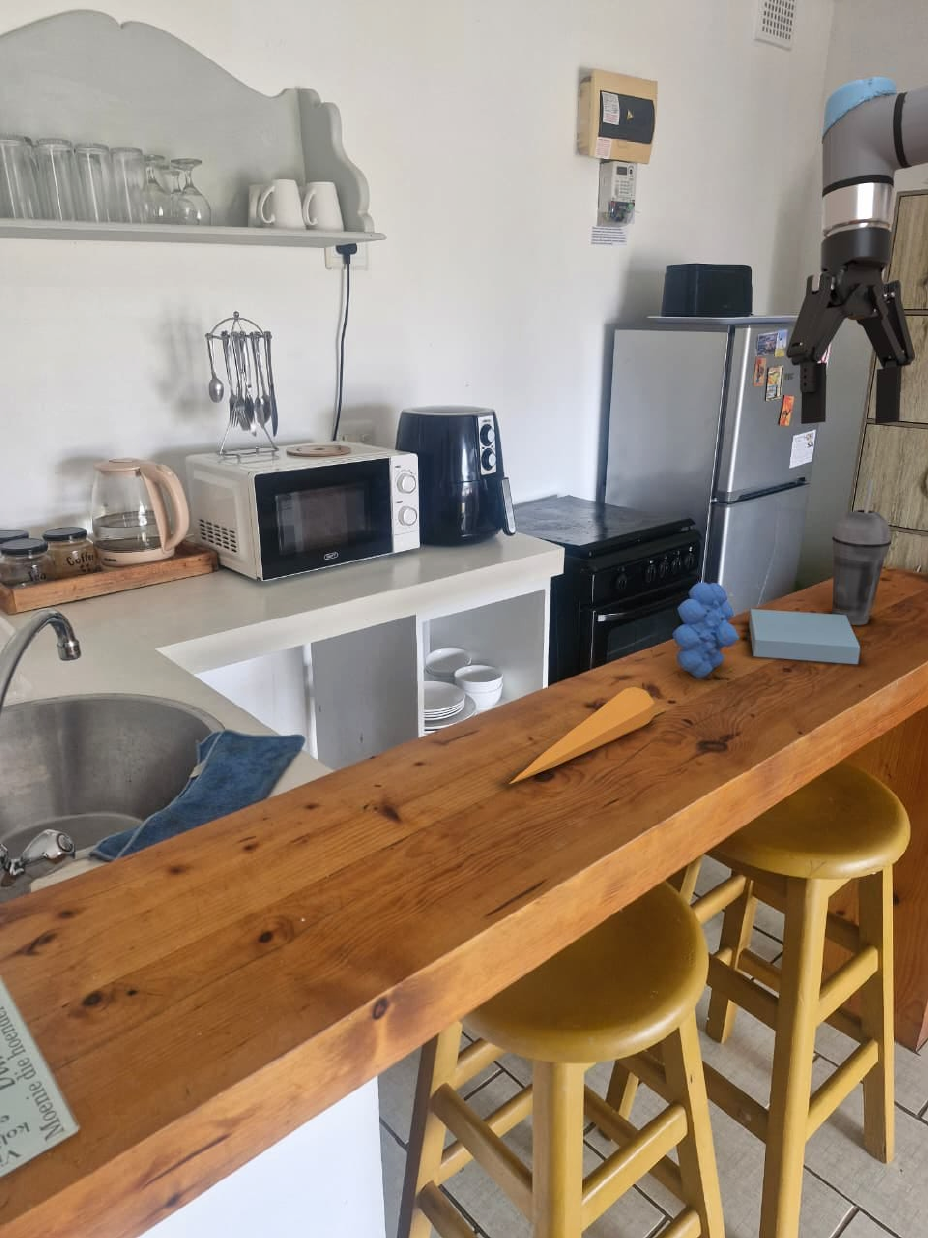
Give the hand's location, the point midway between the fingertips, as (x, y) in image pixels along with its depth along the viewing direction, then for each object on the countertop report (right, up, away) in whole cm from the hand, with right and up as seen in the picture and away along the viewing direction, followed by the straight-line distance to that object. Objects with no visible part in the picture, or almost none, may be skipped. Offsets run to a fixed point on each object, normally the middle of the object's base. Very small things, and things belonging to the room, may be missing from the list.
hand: (851, 423), depth 103 cm
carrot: (-35, -36, -17) cm, 53 cm away
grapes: (-17, -30, -1) cm, 35 cm away
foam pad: (-3, -27, +9) cm, 28 cm away
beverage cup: (+7, -24, +17) cm, 30 cm away
